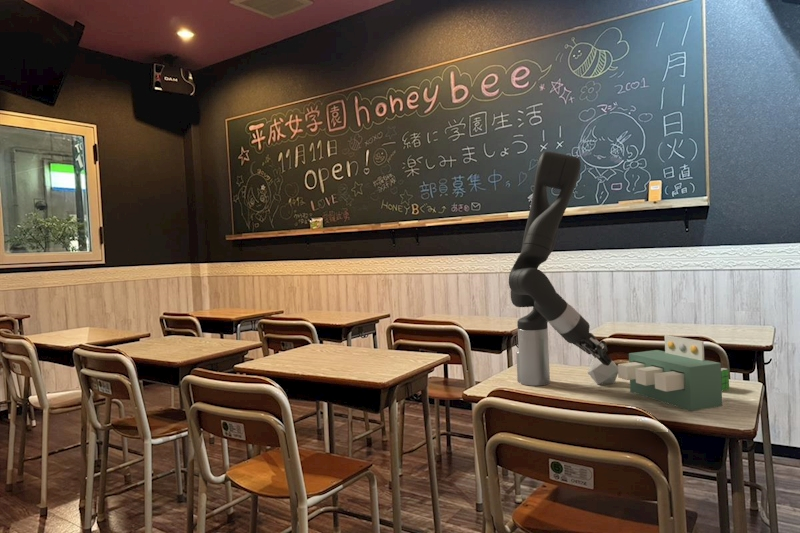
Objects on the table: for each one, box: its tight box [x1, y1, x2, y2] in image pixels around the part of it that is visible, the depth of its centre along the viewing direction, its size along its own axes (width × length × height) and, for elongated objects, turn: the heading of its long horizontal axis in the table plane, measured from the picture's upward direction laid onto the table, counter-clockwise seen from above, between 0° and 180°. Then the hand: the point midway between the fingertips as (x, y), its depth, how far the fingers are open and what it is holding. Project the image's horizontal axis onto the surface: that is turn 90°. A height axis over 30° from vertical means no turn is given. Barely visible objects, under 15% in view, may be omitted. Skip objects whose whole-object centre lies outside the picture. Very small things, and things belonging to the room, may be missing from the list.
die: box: [587, 357, 618, 386], centre depth 172 cm, size 8×9×10 cm
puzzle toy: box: [721, 367, 730, 391], centre depth 160 cm, size 6×6×6 cm
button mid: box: [635, 366, 664, 386], centre depth 150 cm, size 4×6×4 cm, turn 107°
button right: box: [654, 371, 685, 392], centre depth 143 cm, size 4×6×4 cm, turn 107°
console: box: [628, 334, 723, 412], centre depth 152 cm, size 22×10×16 cm, turn 17°
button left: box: [617, 362, 645, 381], centre depth 156 cm, size 4×6×4 cm, turn 107°
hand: (608, 362), depth 154 cm, fingers closed
